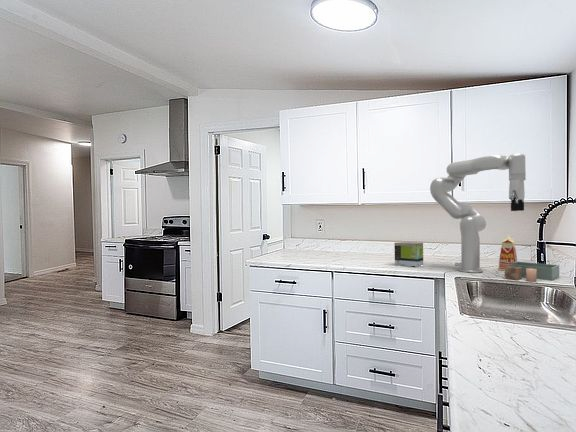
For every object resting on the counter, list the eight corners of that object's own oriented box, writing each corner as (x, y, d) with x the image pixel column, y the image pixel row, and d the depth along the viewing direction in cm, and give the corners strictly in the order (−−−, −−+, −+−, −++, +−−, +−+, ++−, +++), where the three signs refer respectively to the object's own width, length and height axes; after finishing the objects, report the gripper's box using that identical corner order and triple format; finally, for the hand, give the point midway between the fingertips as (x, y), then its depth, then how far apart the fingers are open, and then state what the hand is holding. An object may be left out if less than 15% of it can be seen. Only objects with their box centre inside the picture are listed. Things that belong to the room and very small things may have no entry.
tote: (508, 275, 206) (508, 264, 206) (517, 272, 215) (517, 261, 215) (552, 280, 192) (552, 268, 192) (559, 276, 201) (559, 265, 201)
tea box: (423, 265, 243) (423, 242, 243) (416, 267, 236) (416, 243, 236) (401, 263, 254) (401, 241, 253) (394, 265, 246) (394, 242, 246)
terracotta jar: (524, 281, 191) (524, 268, 191) (527, 279, 194) (527, 267, 194) (534, 282, 188) (535, 269, 188) (537, 281, 191) (537, 268, 191)
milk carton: (501, 268, 230) (501, 234, 229) (518, 269, 224) (519, 235, 224) (497, 270, 223) (497, 235, 222) (516, 271, 217) (516, 236, 217)
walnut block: (504, 279, 197) (504, 267, 197) (508, 277, 201) (508, 266, 201) (517, 280, 193) (517, 268, 193) (521, 279, 197) (521, 267, 197)
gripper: (514, 179, 210) (514, 210, 211) (503, 177, 199) (504, 211, 199) (530, 178, 205) (530, 210, 205) (520, 176, 193) (520, 211, 193)
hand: (517, 210), depth 202 cm, fingers open, 9 cm apart
